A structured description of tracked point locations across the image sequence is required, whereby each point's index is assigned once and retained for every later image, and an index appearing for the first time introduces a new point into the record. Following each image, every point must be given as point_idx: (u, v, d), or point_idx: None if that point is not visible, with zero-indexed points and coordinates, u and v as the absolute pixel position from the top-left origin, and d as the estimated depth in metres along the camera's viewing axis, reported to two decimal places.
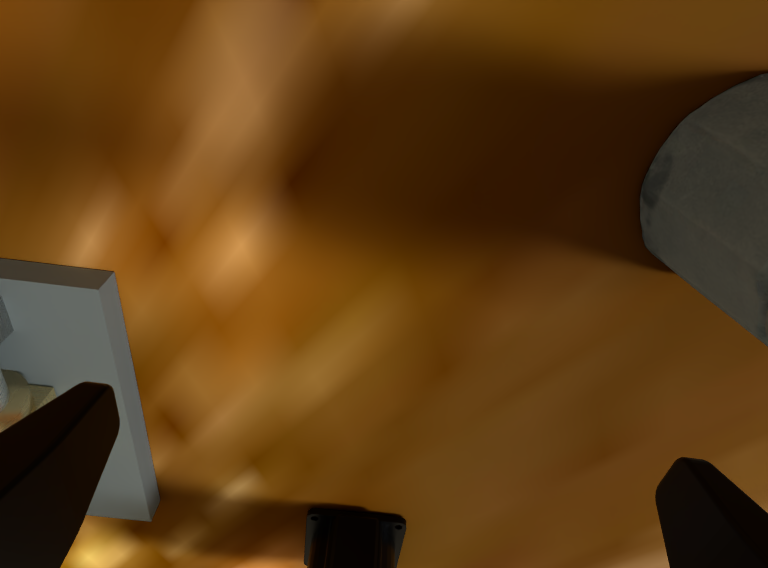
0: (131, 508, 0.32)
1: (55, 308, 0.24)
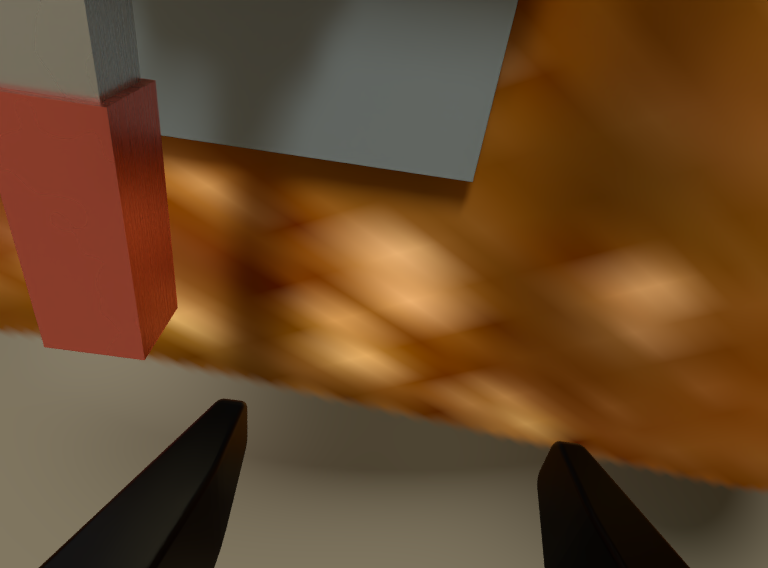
0: None
1: None
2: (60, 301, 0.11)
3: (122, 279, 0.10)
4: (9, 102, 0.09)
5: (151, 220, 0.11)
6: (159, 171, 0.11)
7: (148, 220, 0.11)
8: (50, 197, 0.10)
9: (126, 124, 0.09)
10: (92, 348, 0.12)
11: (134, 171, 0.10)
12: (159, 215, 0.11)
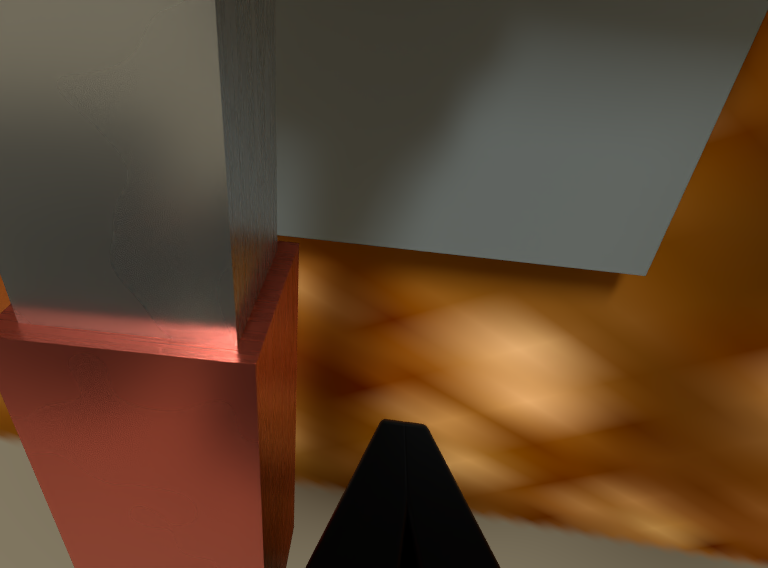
0: None
1: None
2: None
3: None
4: (59, 358, 0.04)
5: (283, 459, 0.07)
6: (293, 375, 0.07)
7: (281, 465, 0.06)
8: (131, 488, 0.05)
9: (272, 357, 0.05)
10: None
11: (275, 418, 0.05)
12: (289, 438, 0.07)
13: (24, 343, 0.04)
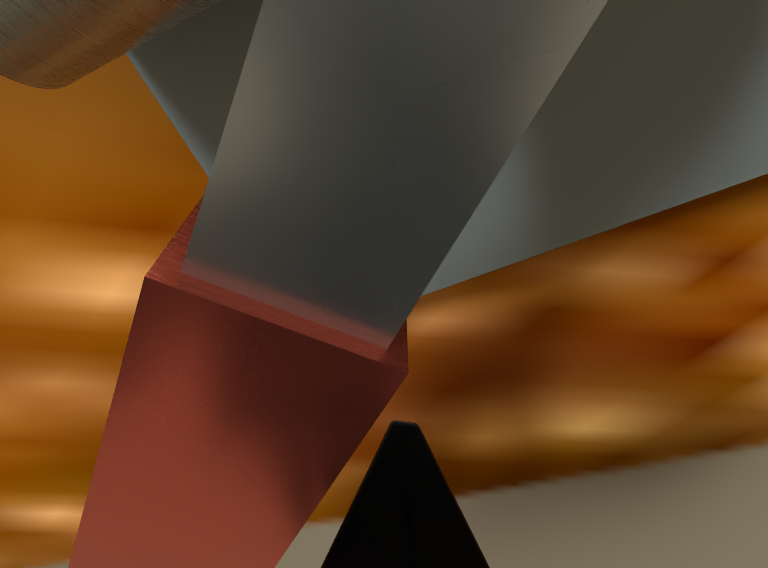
0: None
1: None
2: (126, 566, 0.06)
3: (258, 562, 0.06)
4: (218, 319, 0.04)
5: None
6: None
7: None
8: (203, 454, 0.05)
9: None
10: None
11: None
12: None
13: (188, 296, 0.04)
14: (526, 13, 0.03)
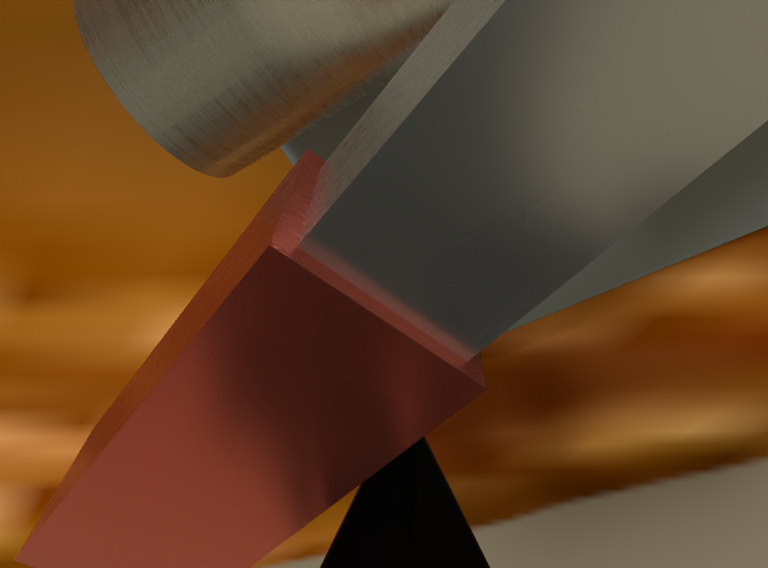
0: None
1: None
2: (110, 531, 0.06)
3: (254, 546, 0.06)
4: (326, 302, 0.04)
5: None
6: None
7: None
8: (246, 430, 0.05)
9: None
10: None
11: None
12: None
13: (303, 273, 0.04)
14: (729, 86, 0.03)
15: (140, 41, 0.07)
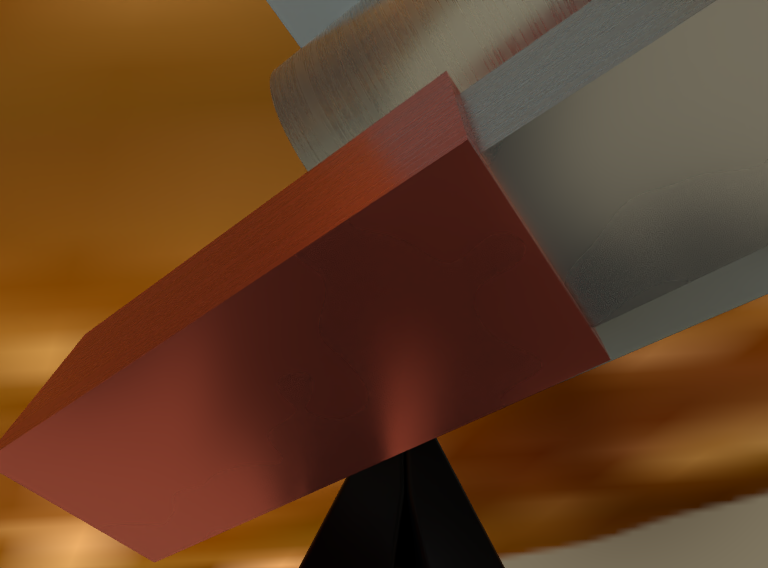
0: None
1: None
2: (118, 446, 0.05)
3: (276, 491, 0.05)
4: (496, 222, 0.04)
5: None
6: None
7: None
8: (332, 357, 0.04)
9: None
10: (82, 512, 0.06)
11: None
12: None
13: (484, 183, 0.03)
14: None
15: (343, 135, 0.08)
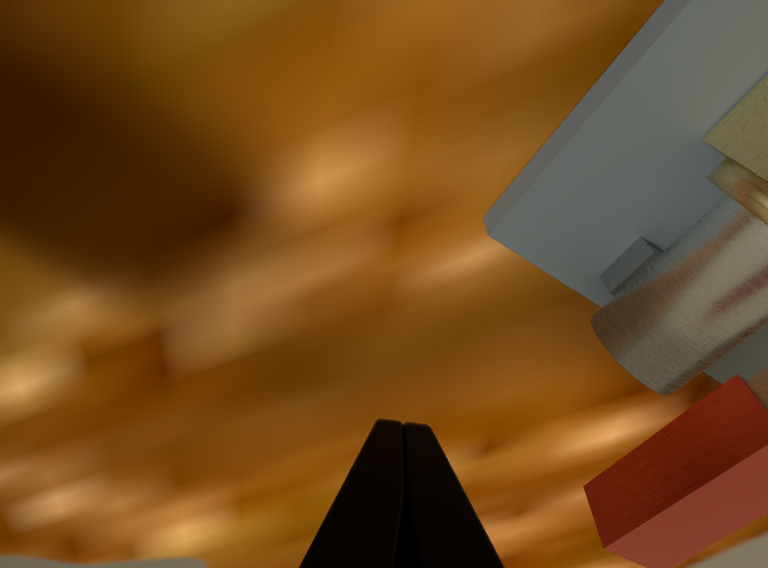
0: None
1: (559, 237, 0.19)
2: (658, 532, 0.14)
3: (717, 536, 0.14)
4: None
5: None
6: None
7: None
8: (741, 490, 0.13)
9: None
10: (636, 559, 0.15)
11: None
12: None
13: None
14: None
15: (656, 364, 0.16)
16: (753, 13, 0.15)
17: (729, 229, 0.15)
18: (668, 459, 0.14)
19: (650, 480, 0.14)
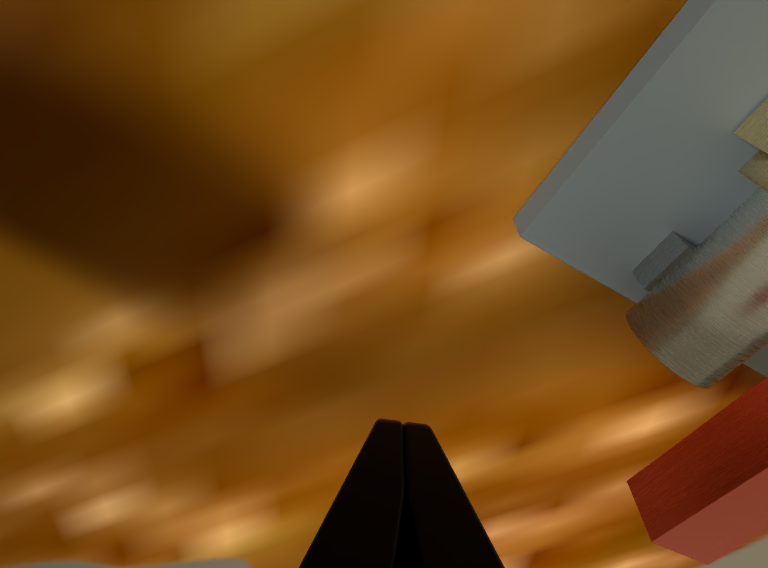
0: None
1: (591, 236, 0.19)
2: (705, 525, 0.14)
3: (765, 526, 0.14)
4: None
5: None
6: None
7: None
8: None
9: None
10: (684, 551, 0.15)
11: None
12: None
13: None
14: None
15: (695, 359, 0.17)
16: None
17: (765, 222, 0.15)
18: (713, 453, 0.14)
19: (695, 474, 0.14)
